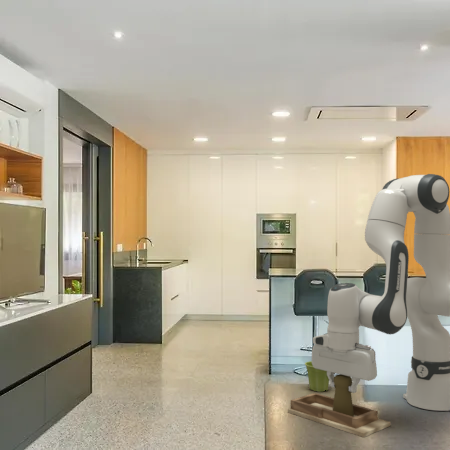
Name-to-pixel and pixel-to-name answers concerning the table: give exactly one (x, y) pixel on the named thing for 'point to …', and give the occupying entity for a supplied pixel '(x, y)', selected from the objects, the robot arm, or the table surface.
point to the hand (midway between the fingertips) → (343, 389)
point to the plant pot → (317, 378)
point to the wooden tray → (337, 415)
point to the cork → (343, 395)
